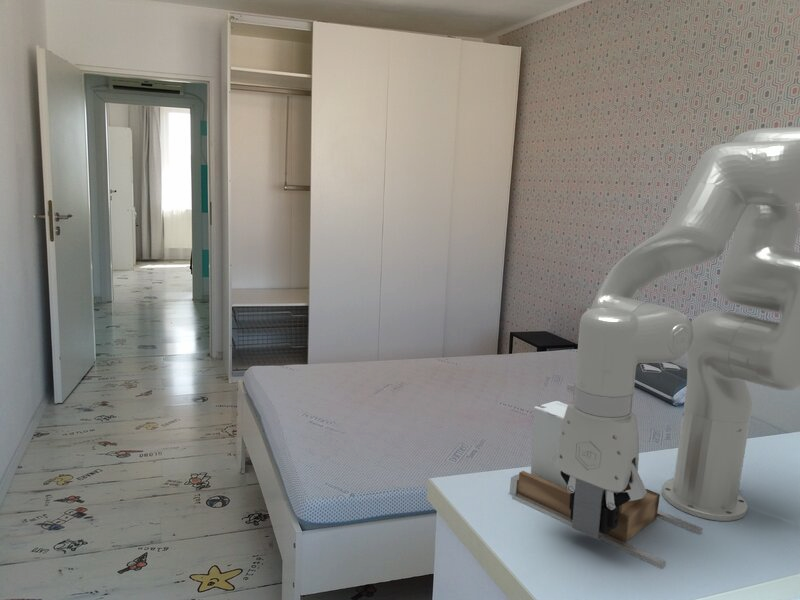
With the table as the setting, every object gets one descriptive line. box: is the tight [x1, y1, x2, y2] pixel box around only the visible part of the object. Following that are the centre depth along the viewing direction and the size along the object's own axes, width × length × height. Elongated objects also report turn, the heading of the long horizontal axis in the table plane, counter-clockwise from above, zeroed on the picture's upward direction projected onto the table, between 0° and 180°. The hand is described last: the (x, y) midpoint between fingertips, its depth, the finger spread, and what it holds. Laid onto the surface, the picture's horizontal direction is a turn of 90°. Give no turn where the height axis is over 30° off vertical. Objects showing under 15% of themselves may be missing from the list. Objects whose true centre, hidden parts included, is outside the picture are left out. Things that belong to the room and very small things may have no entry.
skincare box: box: [530, 400, 568, 489], centre depth 103 cm, size 8×6×15 cm
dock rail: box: [509, 473, 704, 570], centre depth 98 cm, size 14×26×3 cm, turn 44°
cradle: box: [518, 470, 661, 543], centre depth 100 cm, size 11×18×6 cm, turn 44°
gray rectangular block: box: [571, 478, 606, 541], centre depth 89 cm, size 4×4×8 cm
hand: (592, 522), depth 89 cm, fingers closed on gray rectangular block, 4 cm apart
